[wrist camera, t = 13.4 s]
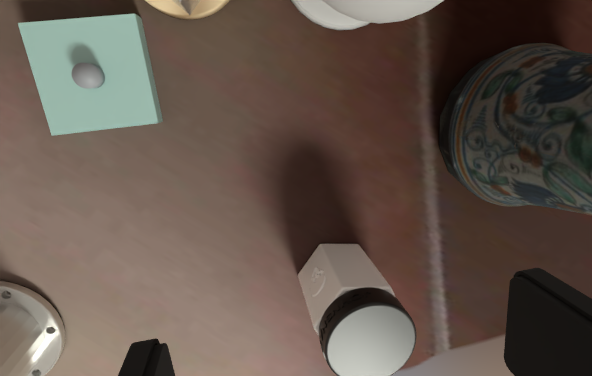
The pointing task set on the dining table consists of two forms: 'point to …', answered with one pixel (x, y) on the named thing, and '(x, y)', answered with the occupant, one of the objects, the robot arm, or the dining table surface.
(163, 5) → the hub
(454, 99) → the beer stein
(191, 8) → the collar
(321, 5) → the chalice
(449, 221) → the dining table surface
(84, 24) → the stand
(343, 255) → the jar
